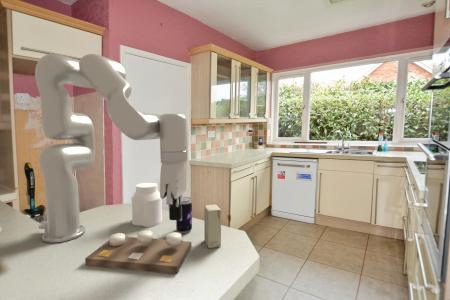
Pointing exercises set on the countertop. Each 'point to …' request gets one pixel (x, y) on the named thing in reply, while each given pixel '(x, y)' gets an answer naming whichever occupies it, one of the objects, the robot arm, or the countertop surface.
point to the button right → (173, 238)
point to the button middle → (145, 236)
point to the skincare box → (212, 226)
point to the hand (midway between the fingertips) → (175, 219)
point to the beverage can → (185, 216)
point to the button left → (117, 239)
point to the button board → (141, 255)
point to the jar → (146, 205)
